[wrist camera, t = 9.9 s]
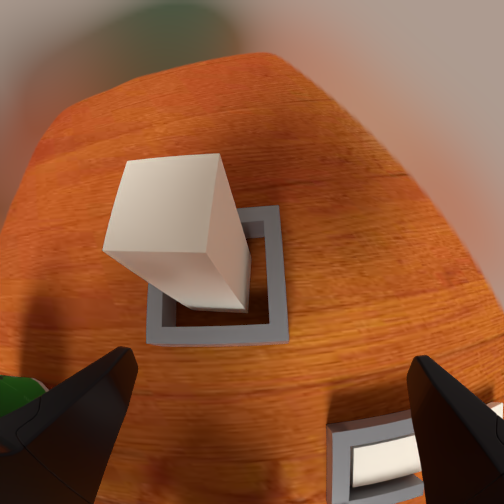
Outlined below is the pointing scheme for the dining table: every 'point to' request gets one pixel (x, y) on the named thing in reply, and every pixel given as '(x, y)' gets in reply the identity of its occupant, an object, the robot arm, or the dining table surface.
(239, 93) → the dining table surface
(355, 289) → the dining table surface
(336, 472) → the cap with slat
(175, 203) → the white rectangular block
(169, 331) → the grey square frame
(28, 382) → the soda can
